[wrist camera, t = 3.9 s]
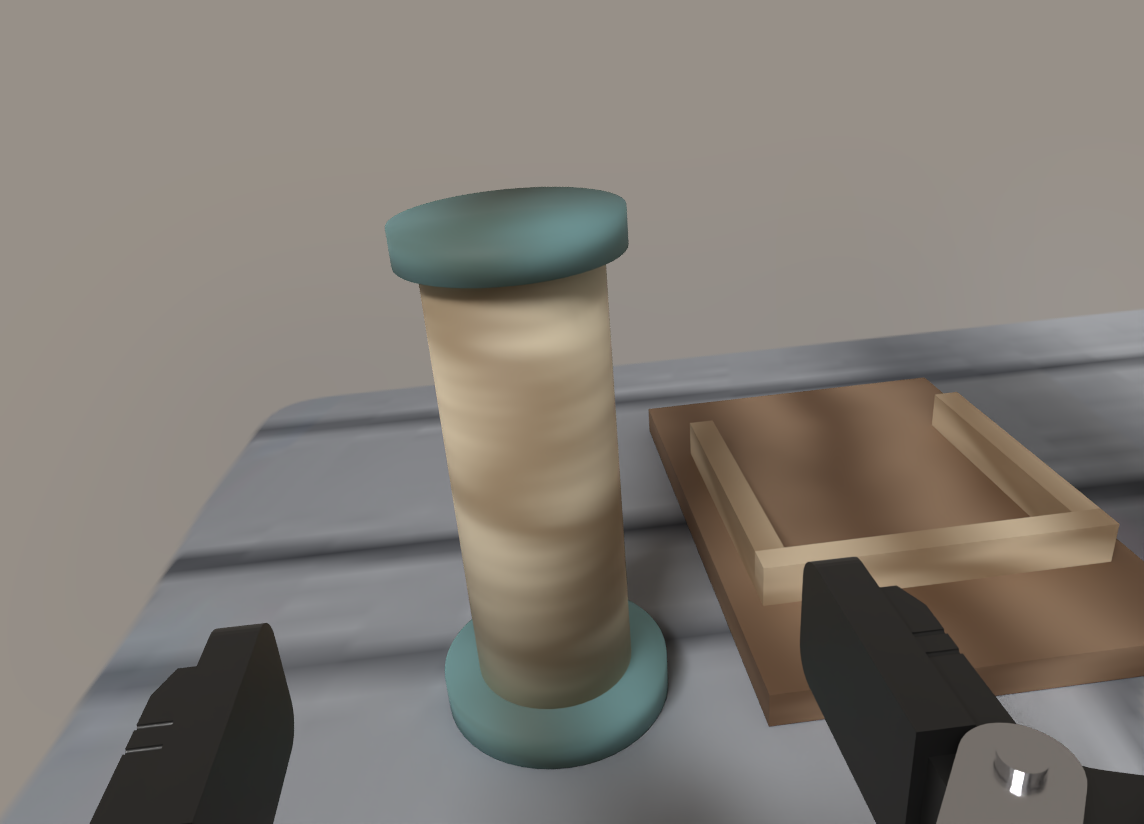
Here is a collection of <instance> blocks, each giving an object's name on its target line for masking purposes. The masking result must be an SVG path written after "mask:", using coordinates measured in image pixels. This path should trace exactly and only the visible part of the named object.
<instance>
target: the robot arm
mask: <svg viewBox="0 0 1144 824" xmlns="http://www.w3.org/2000/svg"><path fill="white" fill-rule="evenodd" d="M800 655H801V661H802V666H803V671H804V674H805V678H806V680H807V683H808V685H809V688H810V690H811V692H812V694H813V696H814V698H815V700H816V702H817V704H818V706H819V708H820V710H821V712H822V714H823V716H824V718H825V720H826V722H827V724H828V726H829V728H830V730H831V732H832V734H833V736H834V738H835V740H836V743H837V745H838V747H839V749H840V751H841V753H842V755H843V757H844V759H845V761H846V763H847V765H848V767H849V769H850V771H851V773H852V775H853V777H854V779H855V781H856V783H857V785H858V787H859V789H860V791H861V793H862V795H863V797H864V799H865V801H866V803H867V805H868V808H869V810H870V812H871V814H872V816H873V818H874V820H875V822H876V824H1144V776H1143V775H1136V774H1128V773H1120V772H1112V771H1105V770H1099V769H1093V768H1088V767H1085V766H1082V765H1081V763H1080V762H1079V761H1078V759H1077V758H1076V757H1075V755H1074V754H1073V753H1072V752H1071V751H1070V750H1069V749H1068V748H1066V747H1065V746H1064V745H1062V744H1061V743H1060V742H1058V741H1057V740H1055V739H1054V738H1052V737H1050V736H1048V735H1046V734H1044V733H1042V732H1040V731H1038V730H1035V729H1032V728H1030V727H1026V726H1022V725H1018V724H1016V723H1015V722H1014V720H1013V719H1012V718H1011V716H1010V715H1009V714H1008V712H1007V711H1006V710H1005V708H1004V707H1003V706H1002V704H1001V703H1000V702H999V700H998V699H997V698H996V696H995V695H994V694H993V693H992V691H991V690H990V689H989V687H988V686H987V685H986V683H985V682H984V681H983V679H982V678H981V677H980V675H979V674H978V673H977V671H976V670H975V669H974V667H973V666H972V665H971V663H970V662H969V661H968V660H967V658H966V657H965V656H964V654H963V653H962V654H960V652H959V648H958V646H957V645H956V644H955V642H954V641H953V640H952V638H951V637H950V636H949V634H948V633H947V634H945V632H944V628H943V627H942V625H941V624H940V623H939V621H938V620H937V619H936V617H935V616H934V615H933V613H932V612H931V611H930V609H929V608H928V607H927V605H926V604H924V603H923V602H921V601H920V600H918V599H917V598H915V597H914V596H912V595H910V594H909V593H907V592H906V591H904V590H903V589H901V588H900V587H898V586H897V585H896V586H887V587H879V586H878V584H877V583H876V581H875V580H874V579H873V577H872V576H871V574H870V573H869V571H868V570H867V569H866V567H865V566H864V564H863V563H862V561H861V560H860V559H859V558H858V557H845V558H837V559H828V560H820V561H811V562H807V563H806V564H805V566H804V570H803V583H802V604H801V626H800ZM293 738H294V714H293V707H292V702H291V698H290V694H289V690H288V686H287V682H286V678H285V674H284V671H283V667H282V663H281V659H280V655H279V651H278V647H277V644H276V640H275V636H274V633H273V630H272V628H271V626H270V625H269V624H268V623H262V624H253V625H245V626H236V627H227V628H219V629H215V630H213V632H212V633H211V635H210V637H209V639H208V641H207V644H206V646H205V648H204V651H203V653H202V655H201V658H200V660H199V662H198V665H197V666H195V667H187V668H178V669H177V670H176V671H175V672H174V673H173V674H172V675H171V676H170V677H169V678H168V679H167V680H166V681H165V682H164V683H163V684H162V685H161V686H160V687H159V688H158V689H157V690H156V691H155V692H154V693H153V694H152V695H151V696H150V698H149V700H148V702H147V705H146V707H145V709H144V711H143V713H142V715H141V717H140V719H139V721H138V723H137V730H134V732H133V734H132V736H131V738H130V740H129V742H128V744H127V746H126V748H125V749H126V753H125V755H122V757H121V759H120V761H119V763H118V765H117V767H116V769H115V771H114V774H113V776H112V778H111V780H110V782H109V784H108V786H107V788H106V790H105V792H104V794H103V797H102V799H101V801H100V803H99V805H98V807H97V809H96V811H95V813H94V815H93V818H92V820H91V822H90V824H273V822H274V818H275V814H276V810H277V806H278V802H279V798H280V794H281V790H282V786H283V782H284V778H285V774H286V770H287V766H288V762H289V758H290V754H291V750H292V746H293Z"/></svg>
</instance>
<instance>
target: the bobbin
mask: <svg viewBox="0 0 1144 824" xmlns="http://www.w3.org/2000/svg"><path fill="white" fill-rule="evenodd" d="M385 232H386V237H387V244H388V250H389V256H390V261H391V267H392V270H393V272H394V273H395V274H396V275H397V276H399V277H400V278H402V279H404V280H407V281H410V282H414V283H418V284H419V288H420V294H421V300H422V307H423V313H424V319H425V325H426V331H427V338H428V344H429V351H430V357H431V363H432V369H433V376H434V381H435V388H436V394H437V401H438V407H439V413H440V420H441V426H442V432H443V438H444V445H445V451H446V457H447V464H448V470H449V476H450V482H451V489H452V495H453V501H454V507H455V514H456V520H457V526H458V533H459V539H460V545H461V551H462V558H463V564H464V570H465V577H466V583H467V589H468V595H469V602H470V608H471V614H472V620H471V621H469V622H468V623H467V624H466V625H465V626H464V628H463V629H462V630H461V631H460V632H459V634H458V635H457V636H456V638H455V639H454V641H453V643H452V645H451V647H450V648H449V651H448V654H447V657H446V663H445V679H446V685H447V690H448V696H449V701H450V707H451V711H452V715H453V718H454V720H455V723H456V725H457V727H458V728H459V730H460V731H461V733H462V734H463V735H464V737H465V738H466V739H467V740H468V741H469V742H470V743H471V744H472V745H474V746H475V747H476V748H478V749H479V750H480V751H482V752H483V753H485V754H487V755H489V756H491V757H493V758H495V759H497V760H500V761H503V762H505V763H508V764H512V765H517V766H521V767H527V768H535V769H560V768H570V767H575V766H581V765H586V764H589V763H592V762H596V761H599V760H602V759H604V758H606V757H609V756H611V755H613V754H615V753H617V752H619V751H621V750H623V749H624V748H626V747H628V746H629V745H630V744H632V743H633V742H635V741H636V740H637V739H639V738H640V737H641V736H642V735H643V734H644V733H645V732H646V731H647V730H648V729H649V728H650V727H651V725H652V724H653V723H654V722H655V720H656V719H657V717H658V715H659V714H660V712H661V710H662V708H663V705H664V703H665V700H666V695H667V690H668V674H667V651H666V645H665V640H664V637H663V635H662V632H661V630H660V628H659V627H658V625H657V624H656V622H655V621H654V620H653V619H652V617H651V616H650V615H649V614H648V613H647V612H645V611H644V610H643V609H642V608H641V607H639V606H637V605H636V604H634V603H633V602H631V601H629V600H628V592H627V577H626V562H625V547H624V532H623V516H622V501H621V486H620V471H619V455H618V440H617V425H616V410H615V395H614V379H613V364H612V350H611V335H610V319H609V303H608V288H607V273H606V264H608V263H610V262H612V261H614V260H615V259H617V258H618V257H620V256H621V255H622V254H623V253H624V252H625V251H626V250H627V248H628V227H627V207H626V202H625V200H624V199H623V198H622V197H620V196H618V195H616V194H613V193H610V192H606V191H601V190H595V189H587V188H574V187H531V188H515V189H504V190H495V191H487V192H480V193H473V194H467V195H461V196H456V197H451V198H446V199H442V200H437V201H434V202H430V203H426V204H423V205H420V206H416V207H414V208H411V209H408V210H406V211H403V212H401V213H399V214H397V215H396V216H394V217H392V218H391V219H390V220H389V221H388V222H387V223H386V225H385Z"/></svg>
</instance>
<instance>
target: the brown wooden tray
mask: <svg viewBox="0 0 1144 824" xmlns="http://www.w3.org/2000/svg"><path fill="white" fill-rule="evenodd" d="M649 427H650V433H651V435H652V438H653V440H654V443H655V445H656V448H657V450H658V453H659V455H660V458H661V460H662V463H663V465H664V468H665V470H666V473H667V475H668V477H669V480H670V482H671V485H672V487H673V490H674V492H675V495H676V497H677V500H678V502H679V505H680V507H681V510H682V512H683V515H684V517H685V520H686V522H687V525H688V527H689V530H690V532H691V534H692V537H693V539H694V542H695V544H696V547H697V549H698V552H699V554H700V557H701V559H702V562H703V564H704V567H705V569H706V572H707V574H708V577H709V579H710V582H711V584H712V587H713V589H714V591H715V594H716V596H717V599H718V601H719V604H720V606H721V609H722V611H723V614H724V616H725V619H726V621H727V624H728V626H729V629H730V631H731V634H732V636H733V639H734V641H735V643H736V646H737V648H738V651H739V653H740V656H741V658H742V661H743V663H744V666H745V668H746V671H747V673H748V676H749V678H750V681H751V683H752V686H753V688H754V691H755V693H756V696H757V698H758V700H759V703H760V705H761V708H762V710H763V713H764V715H765V718H766V720H767V723H768V725H769V726H776V725H783V724H791V723H798V722H806V721H813V720H820V719H825V718H824V716H823V714H822V712H821V710H820V708H819V706H818V704H817V702H816V700H815V698H814V696H813V694H812V692H811V690H810V688H809V685H808V683H807V680H806V678H805V674H804V671H803V666H802V661H801V655H800V626H801V604H802V583H803V570H804V566H805V564H806V563H807V562H811V561H820V560H828V559H837V558H845V557H858V558H859V559H860V560H861V561H862V563H863V564H864V566H865V567H866V569H867V570H868V571H869V573H870V574H871V576H872V577H873V579H874V580H875V581H876V583H877V584H878V586H879V587H887V586H896V585H897V586H898V587H900V588H901V589H903V590H904V591H906V592H907V593H909V594H910V595H912V596H914V597H915V598H917V599H918V600H920V601H921V602H923V603H924V604H926V605H927V607H928V608H929V609H930V611H931V612H932V613H933V615H934V616H935V617H936V619H937V620H938V621H939V623H940V624H941V625H942V627H943V628H944V632H945V634H947V633H948V634H949V636H950V637H951V638H952V640H953V641H954V642H955V644H956V645H957V646H958V648H959V652H960V654H962V653H963V654H964V656H965V657H966V658H967V660H968V661H969V662H970V663H971V665H972V666H973V667H974V669H975V670H976V671H977V673H978V674H979V675H980V677H981V678H982V679H983V681H984V682H985V683H986V685H987V686H988V687H989V689H990V690H991V691H992V693H993V694H994V695H995V696H998V695H1005V694H1013V693H1020V692H1027V691H1035V690H1042V689H1050V688H1057V687H1064V686H1072V685H1079V684H1087V683H1094V682H1101V681H1109V680H1116V679H1124V678H1131V677H1138V676H1144V561H1143V560H1141V559H1140V558H1139V557H1138V556H1137V555H1135V554H1134V553H1133V552H1132V551H1131V550H1129V549H1128V548H1127V547H1126V546H1125V545H1123V544H1122V543H1121V542H1120V541H1119V540H1118V539H1116V537H1117V532H1118V528H1119V523H1118V522H1116V521H1115V520H1114V519H1113V518H1111V517H1110V516H1109V515H1108V514H1106V513H1105V512H1104V511H1103V510H1102V509H1100V508H1099V507H1098V506H1097V505H1095V504H1094V503H1093V502H1092V501H1090V500H1089V499H1088V498H1087V497H1085V496H1084V495H1083V494H1082V493H1081V492H1079V491H1078V490H1077V489H1076V488H1074V487H1073V486H1072V485H1071V484H1069V483H1068V482H1067V481H1066V480H1065V479H1063V478H1062V477H1061V476H1060V475H1058V474H1057V473H1056V472H1055V471H1053V470H1052V469H1051V468H1050V467H1049V466H1047V465H1046V464H1045V463H1044V462H1042V461H1041V460H1040V459H1039V458H1037V457H1036V456H1035V455H1034V454H1033V453H1031V452H1030V451H1029V450H1028V449H1026V448H1025V447H1024V446H1023V445H1021V444H1020V443H1019V442H1018V441H1016V440H1015V439H1014V438H1013V437H1012V436H1010V435H1009V434H1008V433H1007V432H1005V431H1004V430H1003V429H1002V428H1000V427H999V426H998V425H997V424H996V423H994V422H993V421H992V420H991V419H989V418H988V417H987V416H986V415H984V414H983V413H982V412H981V411H980V410H978V409H977V408H976V407H975V406H973V405H972V404H971V403H970V402H968V401H967V400H966V399H965V398H964V397H962V396H961V395H960V394H959V393H957V392H954V393H945V394H943V393H942V392H941V391H940V390H939V389H937V388H936V387H935V386H934V385H933V384H931V383H930V382H929V381H928V380H927V379H925V378H917V379H908V380H899V381H890V382H882V383H873V384H864V385H855V386H847V387H838V388H829V389H821V390H812V391H803V392H794V393H786V394H777V395H768V396H759V397H751V398H742V399H733V400H725V401H716V402H707V403H698V404H690V405H681V406H672V407H663V408H655V409H649Z"/></svg>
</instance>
